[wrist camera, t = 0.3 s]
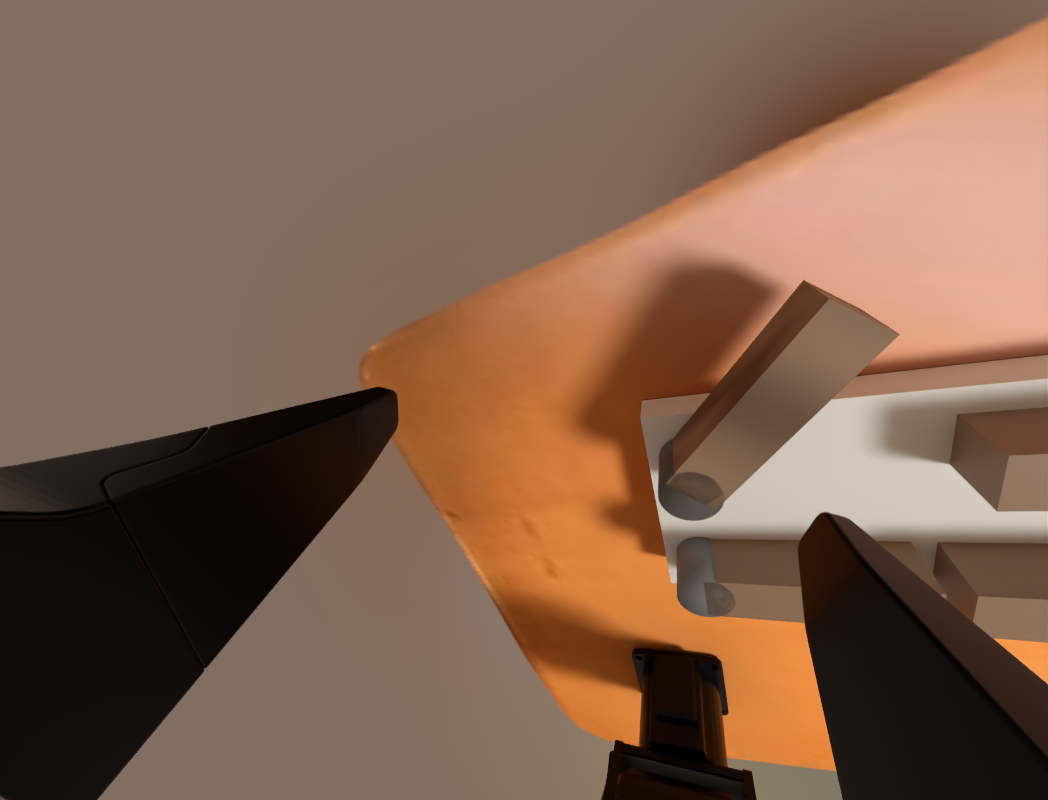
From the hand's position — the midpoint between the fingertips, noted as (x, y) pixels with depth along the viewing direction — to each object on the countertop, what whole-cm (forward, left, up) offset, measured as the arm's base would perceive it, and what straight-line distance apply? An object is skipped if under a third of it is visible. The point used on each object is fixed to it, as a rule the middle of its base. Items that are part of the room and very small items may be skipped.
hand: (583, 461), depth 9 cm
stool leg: (-5, -4, -12) cm, 13 cm away
